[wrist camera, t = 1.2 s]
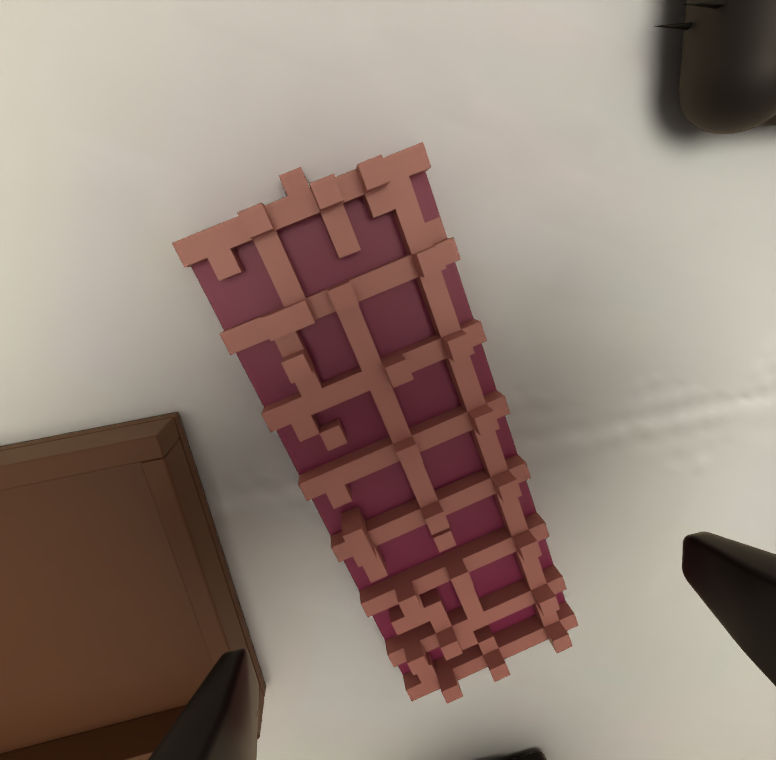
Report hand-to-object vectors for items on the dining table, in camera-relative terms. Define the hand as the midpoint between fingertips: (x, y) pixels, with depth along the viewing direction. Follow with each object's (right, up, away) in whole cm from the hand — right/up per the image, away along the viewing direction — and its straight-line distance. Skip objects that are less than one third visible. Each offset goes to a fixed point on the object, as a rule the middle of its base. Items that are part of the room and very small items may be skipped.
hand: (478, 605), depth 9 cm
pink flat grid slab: (-1, +2, +7) cm, 8 cm away
